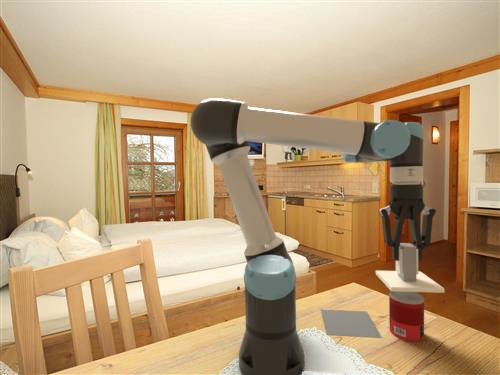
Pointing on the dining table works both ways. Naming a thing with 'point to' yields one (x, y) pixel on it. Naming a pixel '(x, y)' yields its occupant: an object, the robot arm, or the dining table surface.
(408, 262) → the lid
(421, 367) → the dining table surface
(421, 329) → the canned food
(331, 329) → the mat
